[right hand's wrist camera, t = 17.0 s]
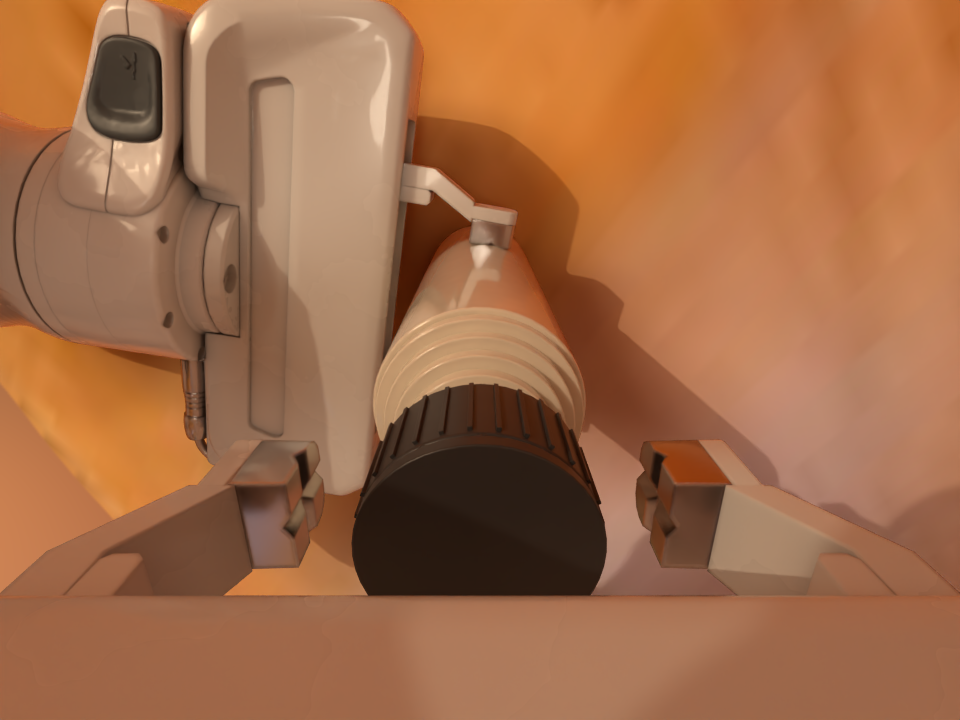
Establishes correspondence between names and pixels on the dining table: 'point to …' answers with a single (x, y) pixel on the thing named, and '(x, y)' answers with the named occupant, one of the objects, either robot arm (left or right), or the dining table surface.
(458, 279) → the bottle
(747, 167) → the dining table surface
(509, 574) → the cap
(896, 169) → the dining table surface
